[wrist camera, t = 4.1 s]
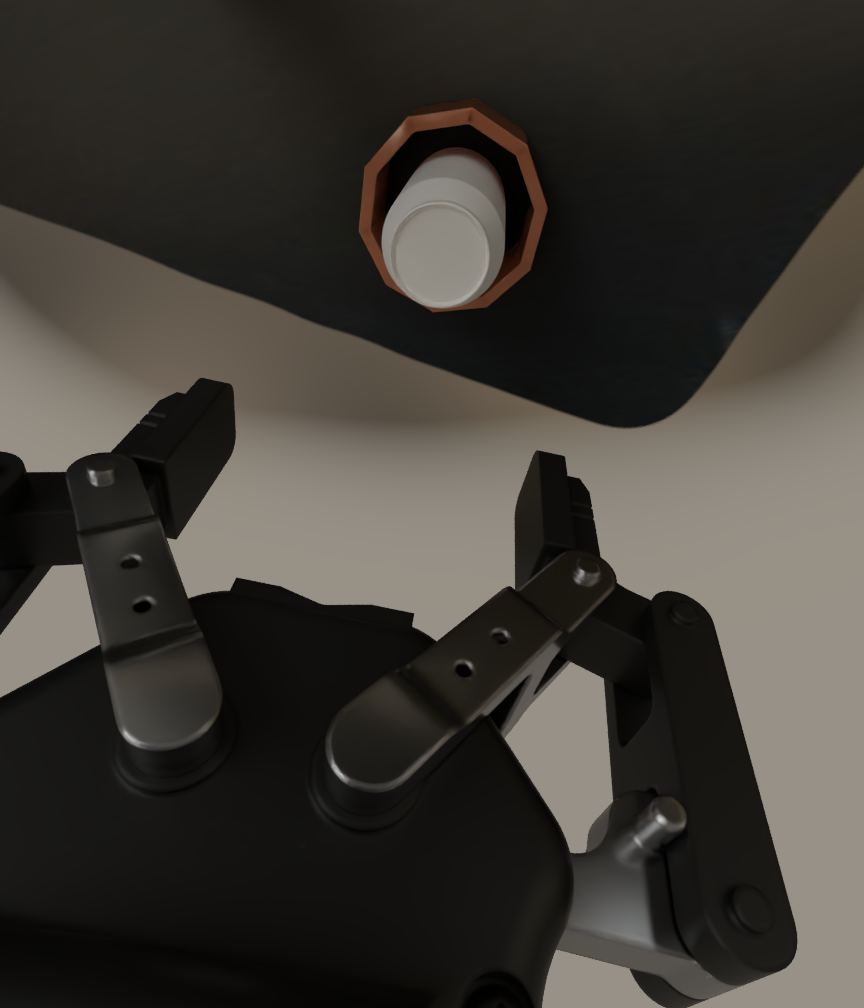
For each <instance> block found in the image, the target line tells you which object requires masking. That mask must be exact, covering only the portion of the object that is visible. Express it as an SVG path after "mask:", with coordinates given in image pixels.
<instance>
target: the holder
mask: <svg viewBox="0 0 864 1008" xmlns="http://www.w3.org/2000/svg"><path fill="white" fill-rule="evenodd" d="M465 124H470V125H471V126H473V127H474V128H476V129H477V130H479V131H480V132H482V133H483V134H485V135H486V136H488V137H489V138H491V139H492V140H494V141H495V142H497V143H498V144H500V145H501V146H503V147H504V148H505V149H507V150H508V151H510V152H511V153H513V154H514V155H516V157H517V160H518V163H519V166H520V169H521V172H522V175H523V178H524V181H525V184H526V187H527V190H528V193H529V196H530V201H529V205H528V209H527V213H526V216H525V220H524V224H523V228H522V231H521V235H520V239H519V241H518V242H517V243H516V244H514V245H513V246H512V247H511V248H510V249H509V250H508V251H507V252H505V253H504V257H503V261H502V264H501V267H500V270H499V272H498V274H497V276H496V278H495V280H494V281H493V283H492V284H491V285H490V287H489V288H488V289H487V290H486V291H485V292H484V293H483V294H482V295H480V296H479V297H478V298H476V299H475V300H473V301H471V302H469V303H467V304H465V305H462V306H458V307H453V308H432V307H428V306H425V305H422V304H421V305H422V306H424V307H426V308H427V309H429V310H431V311H433V312H441V311H452V310H462V309H473V308H484V307H488V306H489V305H490V304H491V303H492V302H494V301H495V300H496V299H497V298H498V297H499V296H501V295H502V294H503V293H504V292H505V291H506V290H508V289H509V288H510V287H511V286H512V285H514V284H515V283H516V282H517V281H518V280H519V279H521V278H522V277H523V276H524V275H525V274H526V273H528V272H529V271H530V270H531V266H532V263H533V259H534V256H535V252H536V249H537V245H538V242H539V238H540V235H541V231H542V228H543V224H544V221H545V217H546V214H547V210H548V207H547V202H546V197H545V192H544V188H543V185H542V182H541V179H540V176H539V173H538V170H537V167H536V163H535V160H534V157H533V154H532V151H531V148H530V145H529V141H528V138H527V135H526V132H525V131H523V130H522V129H520V128H519V127H518V126H516V125H515V124H513V123H512V122H510V121H509V120H507V119H506V118H504V117H503V116H501V115H500V114H499V113H497V112H496V111H494V110H493V109H491V108H490V107H488V106H487V105H485V104H484V103H483V102H481V101H480V100H478V99H477V98H475V99H468V100H462V101H455V102H449V103H442V104H435V105H429V106H422V107H418V108H417V109H416V110H415V111H414V112H412V113H411V114H410V115H409V116H408V117H407V118H406V119H405V120H404V122H403V123H402V124H401V125H400V126H399V127H398V129H397V130H396V131H395V132H394V133H393V134H392V136H391V137H390V138H389V139H388V140H387V141H386V143H385V144H384V145H383V146H382V147H381V149H380V150H379V151H378V152H377V153H376V154H375V156H374V157H373V158H372V159H371V160H370V161H369V163H368V164H367V165H366V166H365V167H364V180H363V190H362V201H361V212H360V223H359V233H360V235H361V237H362V239H363V241H364V243H365V244H366V246H367V248H368V250H369V252H370V254H371V256H372V258H373V260H374V262H375V264H376V266H377V268H378V270H379V272H380V274H381V276H382V278H383V280H384V282H385V284H386V285H387V286H389V287H391V288H393V289H394V290H396V291H398V292H400V293H401V294H403V295H405V296H407V297H408V298H410V297H409V296H408V295H406V294H405V293H404V292H403V291H402V290H401V289H400V288H399V287H398V286H397V285H396V283H395V282H394V281H393V279H392V277H391V276H390V274H389V272H388V270H387V267H386V265H385V261H384V258H383V253H382V231H383V226H384V222H385V219H386V217H387V214H386V212H385V204H386V195H387V187H388V178H389V170H390V161H391V158H392V157H393V156H394V155H395V154H396V153H397V151H398V150H399V149H400V148H401V147H402V146H403V145H404V143H405V142H406V141H407V140H408V139H409V138H410V137H411V135H412V134H413V133H414V132H417V131H424V130H431V129H438V128H445V127H452V126H458V125H465ZM410 299H411V298H410ZM412 300H413V299H412ZM415 302H416V301H415ZM417 303H418V302H417ZM419 304H420V303H419Z"/></svg>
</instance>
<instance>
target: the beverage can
mask: <svg viewBox="0 0 864 1008" xmlns="http://www.w3.org/2000/svg"><path fill="white" fill-rule="evenodd" d="M505 210H506V204H505V192H504V187H503V183H502V181H501V178H500V176H499V174H498V172H497V170H496V169H495V167H494V166H493V165H492V164H491V163H490V162H489V161H488V160H487V159H486V158H485V157H484V156H482V155H481V154H479V153H477V152H475V151H473V150H470V149H467V148H461V147H452V148H446V149H442V150H440V151H437V152H435V153H434V154H432V155H430V156H429V157H428V158H426V159H425V160H424V161H423V162H422V163H421V164H420V165H419V167H418V168H417V169H416V171H415V172H414V173H413V175H412V176H411V178H410V179H409V181H408V182H407V184H406V185H405V187H404V188H403V190H402V191H401V193H400V194H399V196H398V197H397V199H396V200H395V202H394V203H393V205H392V206H391V208H390V210H389V212H388V214H387V217H386V219H385V222H384V226H383V231H382V253H383V258H384V261H385V265H386V267H387V270H388V272H389V274H390V276H391V277H392V279H393V281H394V282H395V283H396V285H397V286H398V287H399V288H400V289H401V290H402V291H403V292H404V293H405V294H406V295H408V296H409V297H410V298H411V299H413V300H414V301H416V302H418V303H420V304H422V305H425V306H428V307H432V308H453V307H458V306H462V305H465V304H467V303H469V302H471V301H473V300H475V299H476V298H478V297H479V296H480V295H482V294H483V293H484V292H485V291H486V290H487V289H488V288H489V287H490V285H491V284H492V283H493V281H494V280H495V278H496V276H497V274H498V272H499V270H500V267H501V264H502V261H503V257H504V249H505Z"/></svg>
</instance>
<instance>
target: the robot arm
mask: <svg viewBox="0 0 864 1008" xmlns="http://www.w3.org/2000/svg"><path fill="white" fill-rule="evenodd" d="M235 439H236V430H235V411H234V391H233V387H232V385H231V384H228V383H224V382H219V381H214V380H210V379H205V378H200V379H198V380H197V381H196V383H195V384H194V385H193V386H192V387H191V388H190V389H189V390H188V392H187V393H186V394H183V393H178V392H176V393H174V394H172V395H170V396H168V397H166V398H164V399H162V400H160V401H159V402H158V403H157V404H156V405H155V406H154V407H153V408H152V409H151V410H150V411H149V414H147V415H145V416H144V417H143V418H142V420H141V421H140V424H137V425H136V426H135V427H134V428H133V429H132V430H131V431H130V432H129V433H128V435H127V436H126V437H125V438H124V439H123V440H122V441H121V442H120V443H119V444H118V445H117V446H116V447H115V448H114V449H113V450H112V451H111V452H110V453H109V452H108V453H96V454H91V455H88V456H85V457H83V458H80V459H78V460H77V461H75V462H74V463H73V464H71V466H69V468H68V469H67V472H30V473H29V472H26V469H25V466H24V463H23V461H22V460H21V459H20V458H19V457H17V456H16V455H13V454H10V453H7V452H0V635H1V633H2V632H3V631H4V629H5V628H6V627H7V625H8V624H9V623H10V621H11V620H12V619H13V617H14V616H15V615H16V613H17V612H18V610H19V609H20V608H21V607H22V605H23V604H24V603H25V601H26V600H27V599H28V597H29V596H30V595H31V593H32V592H33V591H34V589H35V588H36V587H37V586H38V584H39V583H40V582H41V580H42V579H43V577H44V576H45V575H46V574H47V572H48V571H49V570H50V568H51V567H52V566H54V565H74V564H83V567H84V571H85V575H86V580H87V585H88V589H89V594H90V599H91V603H92V608H93V612H94V617H95V622H96V626H97V631H98V635H99V639H100V645H98V646H96V647H95V648H92V649H91V650H89V651H87V652H85V653H83V654H81V655H79V656H77V657H76V658H74V659H72V660H70V661H68V662H66V663H65V664H62V665H61V666H59V667H57V668H55V669H53V670H51V671H49V672H47V673H46V674H44V675H42V676H40V677H38V678H36V679H34V680H33V681H31V682H29V683H27V684H25V685H23V686H21V687H19V688H17V689H16V690H14V691H12V692H10V693H8V694H6V695H4V696H3V697H1V698H0V1008H542V1001H543V994H544V989H545V984H546V979H547V975H548V972H549V968H550V965H551V962H552V959H553V956H554V953H555V951H556V949H557V950H561V951H565V952H569V953H572V954H576V955H580V956H584V957H588V958H592V959H595V960H599V961H603V962H607V963H611V964H615V965H619V966H623V967H627V968H630V971H631V973H632V975H633V977H634V979H635V981H636V982H637V983H638V985H639V986H640V988H641V989H642V990H643V991H644V992H645V994H646V995H647V996H649V997H650V998H651V999H652V1000H653V1001H655V1002H656V1003H658V1004H659V1005H661V1006H663V1007H666V1008H687V1007H690V1006H692V1005H695V1004H697V1003H700V1002H702V1001H705V1000H707V999H709V998H712V997H715V996H717V995H720V994H723V993H725V992H728V991H730V990H733V989H735V988H738V987H740V986H743V985H745V984H748V983H750V982H753V981H755V980H758V979H760V978H763V977H766V976H768V975H771V974H773V973H776V972H778V971H781V970H783V969H785V968H786V967H787V966H788V965H789V964H790V963H791V962H792V960H793V959H794V956H795V953H796V950H797V931H796V926H795V922H794V918H793V915H792V911H791V907H790V903H789V900H788V896H787V893H786V889H785V885H784V881H783V877H782V874H781V870H780V866H779V863H778V859H777V855H776V851H775V848H774V844H773V841H772V837H771V833H770V830H769V826H768V822H767V819H766V815H765V811H764V808H763V803H762V800H761V796H760V792H759V789H758V785H757V782H756V778H755V775H754V770H753V767H752V763H751V759H750V755H749V752H748V748H747V744H746V741H745V737H744V733H743V730H742V726H741V722H740V719H739V715H738V711H737V707H736V704H735V700H734V697H733V693H732V689H731V686H730V682H729V678H728V674H727V671H726V667H725V663H724V659H723V656H722V652H721V648H720V645H719V641H718V637H717V634H716V630H715V626H714V623H713V620H712V618H711V616H710V615H709V613H708V612H707V611H706V610H705V608H704V607H703V606H701V605H700V604H699V603H698V602H697V601H695V600H694V599H692V598H690V597H688V596H686V595H684V594H681V593H678V592H673V591H663V592H660V593H658V594H656V595H655V596H654V597H653V599H652V600H649V599H647V598H645V597H642V596H640V595H638V594H636V593H633V592H632V591H629V590H627V589H626V588H624V587H622V586H620V585H619V584H618V583H617V580H616V575H615V572H614V571H613V569H612V568H611V566H610V565H609V564H608V563H607V562H606V561H605V560H604V559H602V558H601V557H600V551H599V546H598V540H597V534H596V528H595V522H594V520H593V518H594V516H593V510H592V509H591V507H592V504H591V499H590V493H589V491H588V490H587V488H586V487H585V486H584V484H583V483H582V481H581V480H580V479H579V478H575V477H570V476H567V468H566V461H565V457H564V456H562V455H557V454H552V453H548V452H543V451H538V450H537V451H536V452H535V453H534V455H533V458H532V461H531V463H530V466H529V469H528V471H527V475H526V477H525V480H524V482H523V485H522V488H521V491H520V493H519V497H518V500H517V504H516V510H515V590H514V589H513V588H512V587H510V586H508V587H506V588H504V589H502V590H501V591H500V592H498V593H497V594H496V595H495V596H493V597H492V598H491V599H490V600H489V601H487V602H486V603H485V604H483V605H482V606H481V607H480V608H478V609H477V610H476V611H475V612H473V613H472V614H471V615H470V616H468V617H467V618H466V619H465V620H463V621H462V622H461V623H459V624H458V625H457V626H456V627H454V628H453V629H452V630H451V631H449V632H448V633H447V634H446V635H444V636H443V637H442V638H441V639H439V640H438V641H435V640H434V639H433V638H431V637H430V636H429V635H427V634H425V633H424V632H422V631H420V630H418V629H416V628H413V627H412V622H413V617H414V613H409V612H404V611H399V610H394V609H389V608H385V607H380V606H374V605H322V604H319V603H317V602H315V601H312V600H310V599H308V598H305V597H303V596H301V595H299V594H296V593H294V592H292V591H289V590H287V589H285V588H283V587H281V586H276V585H270V584H265V583H261V582H256V581H251V580H246V579H241V578H236V580H235V582H234V584H233V586H232V588H231V590H230V591H218V592H211V593H206V594H201V595H198V596H195V597H191V598H189V599H188V597H187V595H186V592H185V589H184V587H183V583H182V581H181V578H180V575H179V572H178V570H177V567H176V564H175V561H174V558H173V555H172V552H171V550H170V547H169V544H168V541H167V538H171V539H177V538H178V536H179V535H180V533H181V531H182V530H183V529H184V527H185V526H186V524H187V522H188V521H189V519H190V518H191V516H192V515H193V513H194V512H195V510H196V508H197V507H198V506H199V504H200V503H201V501H202V499H203V498H204V497H205V495H206V493H207V492H208V490H209V489H210V487H211V486H212V484H213V483H214V481H215V480H216V478H217V477H218V475H219V474H220V472H221V470H222V469H223V467H224V466H225V464H226V463H227V461H228V460H229V458H230V456H231V454H232V452H233V449H234V445H235ZM570 662H572V663H574V664H576V665H579V666H580V667H582V668H584V669H586V670H588V671H590V672H592V673H594V674H596V675H598V676H600V677H602V678H604V685H605V698H606V712H607V725H608V738H609V752H610V764H611V778H612V790H613V802H612V803H611V804H610V805H609V806H608V808H607V809H606V810H605V811H604V812H603V813H602V814H601V815H600V816H599V817H598V818H597V819H596V820H595V822H594V823H593V824H592V826H591V828H590V830H589V834H588V841H587V850H586V852H585V853H570V851H569V847H568V844H567V841H566V839H565V836H564V834H563V832H562V830H561V827H560V825H559V824H558V822H557V820H556V818H555V817H554V815H553V814H552V812H551V811H550V809H549V807H548V806H547V804H546V803H545V801H544V800H543V798H542V797H541V795H540V793H539V792H538V791H537V789H536V787H535V786H534V784H533V783H532V781H531V779H530V778H529V776H528V775H527V773H526V772H525V770H524V769H523V767H522V765H521V764H520V762H519V761H518V759H517V758H516V756H515V755H514V753H513V751H512V750H511V748H510V747H509V745H508V744H507V742H506V741H505V739H504V738H505V737H506V735H507V734H508V733H509V732H510V731H511V730H512V728H513V727H514V726H515V724H516V723H517V722H518V720H519V719H520V718H521V716H522V715H523V713H524V712H525V711H526V710H527V708H528V707H529V706H530V705H531V704H532V702H534V700H535V699H536V698H537V697H538V696H539V695H540V694H541V693H542V692H543V691H544V690H545V689H546V688H547V687H548V686H549V685H550V683H551V682H552V681H553V680H554V679H555V678H556V677H557V676H558V675H559V674H560V673H561V672H562V671H563V670H564V669H565V668H566V667H567V665H568V664H569V663H570Z"/></svg>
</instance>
